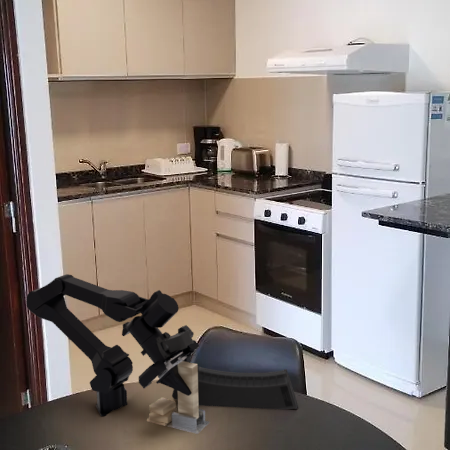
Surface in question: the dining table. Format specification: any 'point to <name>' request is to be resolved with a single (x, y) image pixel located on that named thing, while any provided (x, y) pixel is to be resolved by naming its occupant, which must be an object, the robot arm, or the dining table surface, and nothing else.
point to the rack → (189, 422)
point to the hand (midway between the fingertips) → (193, 392)
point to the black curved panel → (245, 389)
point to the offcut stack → (162, 411)
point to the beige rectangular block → (190, 376)
